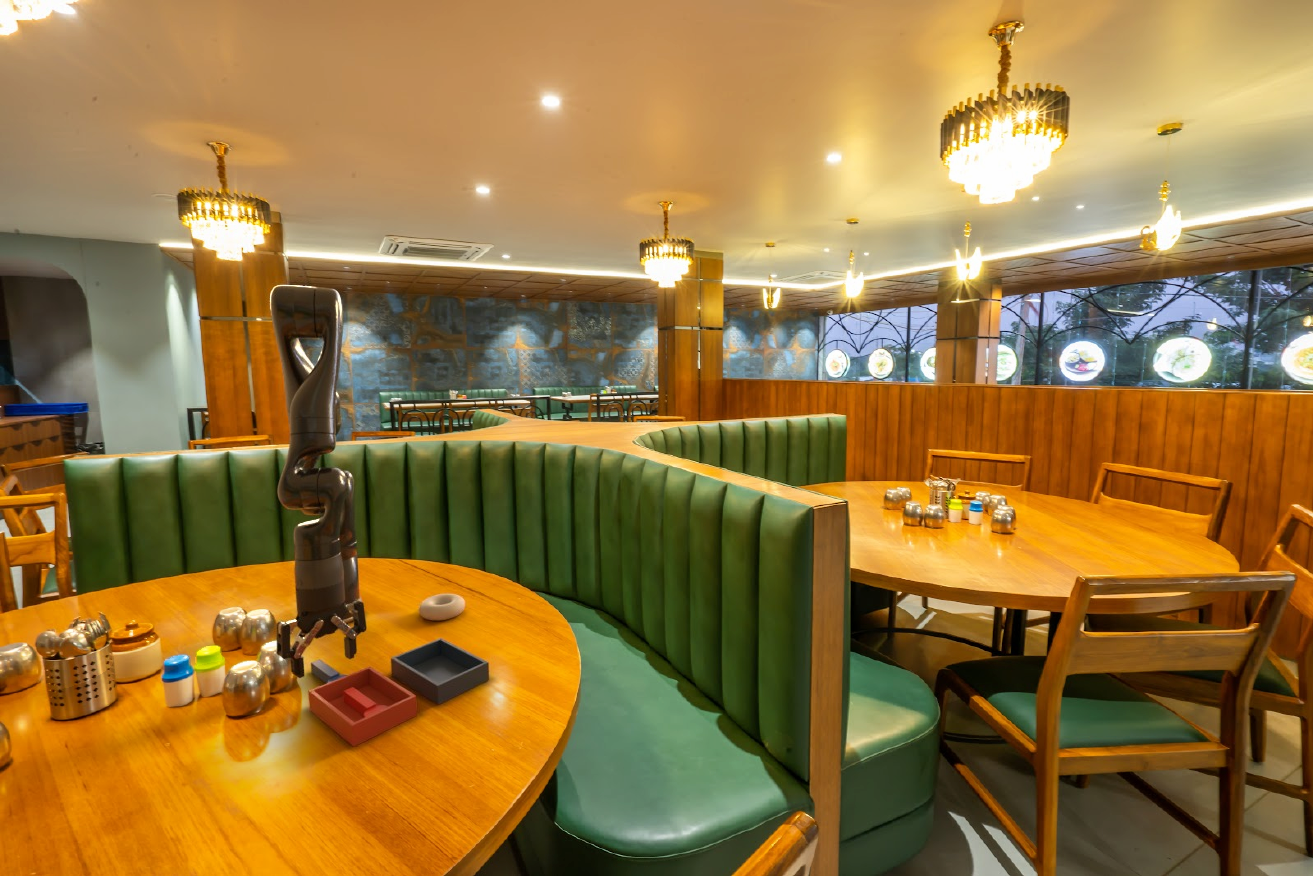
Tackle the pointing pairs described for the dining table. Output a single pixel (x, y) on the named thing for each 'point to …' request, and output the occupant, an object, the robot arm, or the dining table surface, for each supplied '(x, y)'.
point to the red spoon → (361, 702)
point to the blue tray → (440, 670)
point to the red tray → (350, 722)
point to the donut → (442, 607)
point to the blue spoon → (324, 671)
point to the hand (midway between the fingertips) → (325, 666)
